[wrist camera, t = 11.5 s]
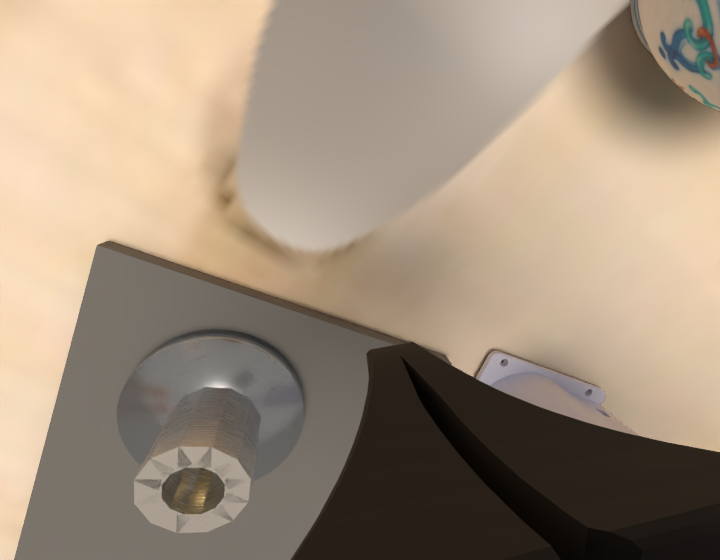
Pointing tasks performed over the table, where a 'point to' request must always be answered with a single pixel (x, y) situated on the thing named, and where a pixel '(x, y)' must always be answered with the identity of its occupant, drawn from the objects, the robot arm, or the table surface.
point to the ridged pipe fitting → (200, 462)
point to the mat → (118, 468)
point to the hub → (220, 370)
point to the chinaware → (683, 43)
